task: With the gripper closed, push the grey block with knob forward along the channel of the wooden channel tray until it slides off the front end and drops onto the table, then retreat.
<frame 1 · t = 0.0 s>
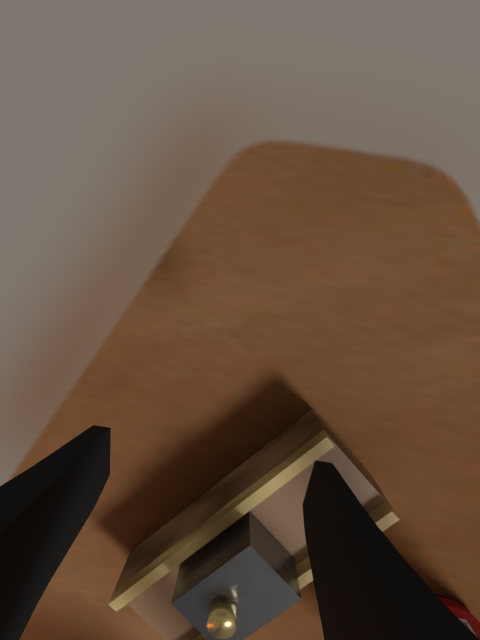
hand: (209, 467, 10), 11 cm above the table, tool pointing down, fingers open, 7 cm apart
wooden channel tray: (248, 515, 22), on the table
canned food: (425, 630, 24), on the table
grey block with knob: (237, 560, 20), point 3 cm above the table, touching wooden channel tray
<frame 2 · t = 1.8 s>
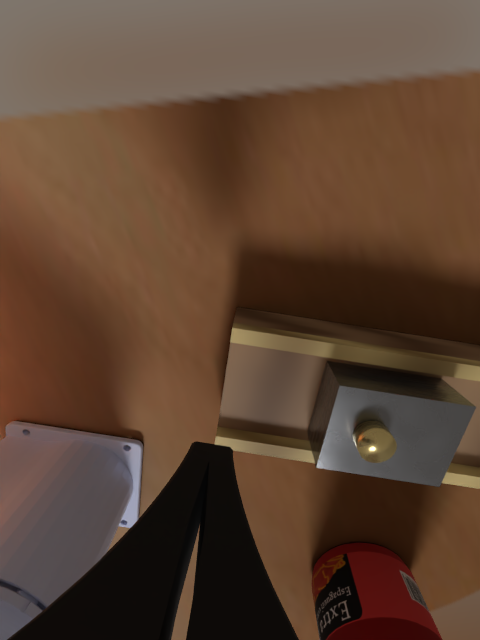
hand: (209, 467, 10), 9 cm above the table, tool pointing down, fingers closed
wooden channel tray: (369, 381, 19), on the table
canned food: (358, 571, 24), on the table
grey block with knob: (371, 406, 16), point 3 cm above the table, touching wooden channel tray
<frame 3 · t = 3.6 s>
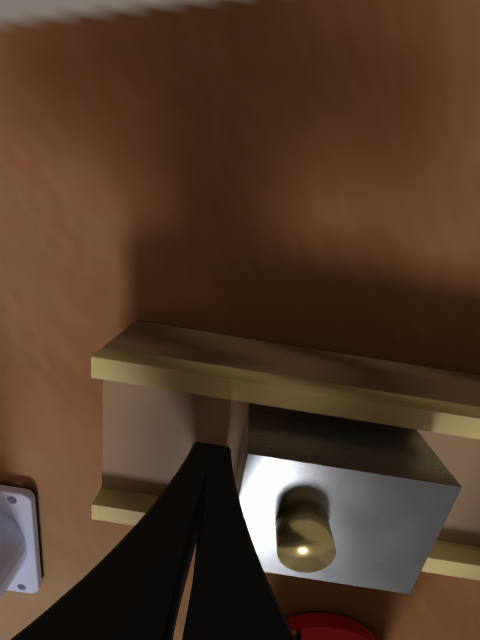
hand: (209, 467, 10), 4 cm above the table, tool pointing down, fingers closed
wooden channel tray: (320, 419, 14), on the table
grey block with knob: (317, 465, 11), point 3 cm above the table, touching gripper, wooden channel tray
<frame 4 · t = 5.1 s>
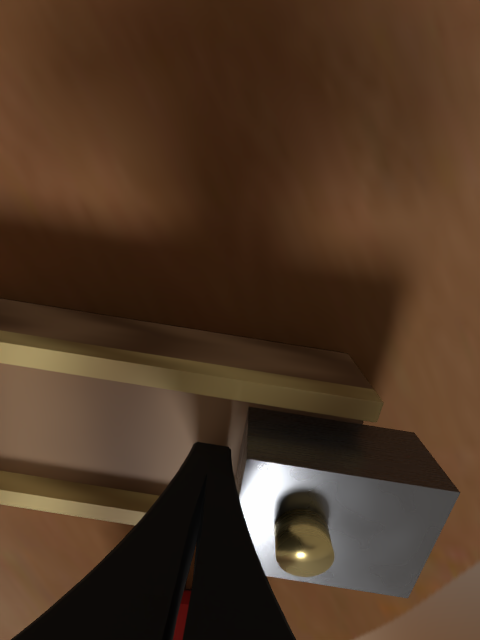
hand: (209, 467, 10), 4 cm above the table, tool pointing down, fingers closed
wooden channel tray: (141, 390, 14), on the table
canned food: (190, 622, 20), on the table
grey block with knob: (317, 469, 11), point 3 cm above the table, touching gripper
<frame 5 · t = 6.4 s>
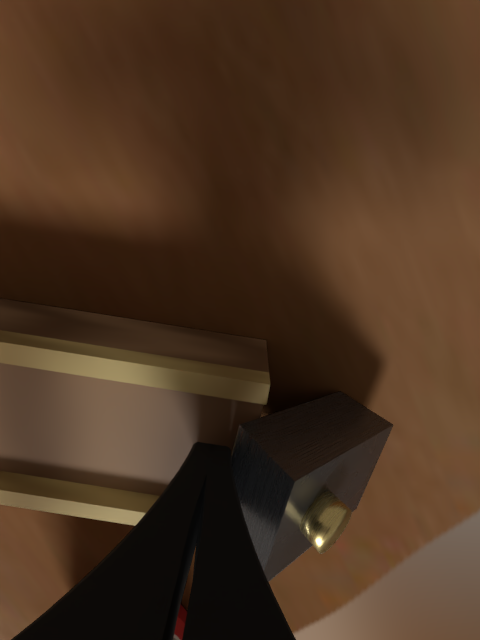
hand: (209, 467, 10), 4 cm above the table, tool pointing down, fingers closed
wooden channel tray: (65, 378, 14), on the table
grey block with knob: (283, 450, 12), point 2 cm above the table, tilted 41°, touching gripper
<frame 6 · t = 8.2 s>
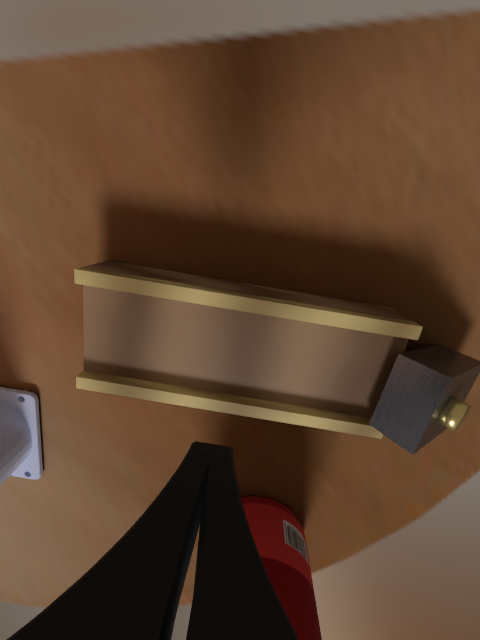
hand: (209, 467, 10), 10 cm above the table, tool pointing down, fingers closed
wooden channel tray: (241, 335, 20), on the table
canned food: (256, 525, 25), on the table
grey block with knob: (406, 381, 18), point 2 cm above the table, tilted 40°, touching wooden channel tray
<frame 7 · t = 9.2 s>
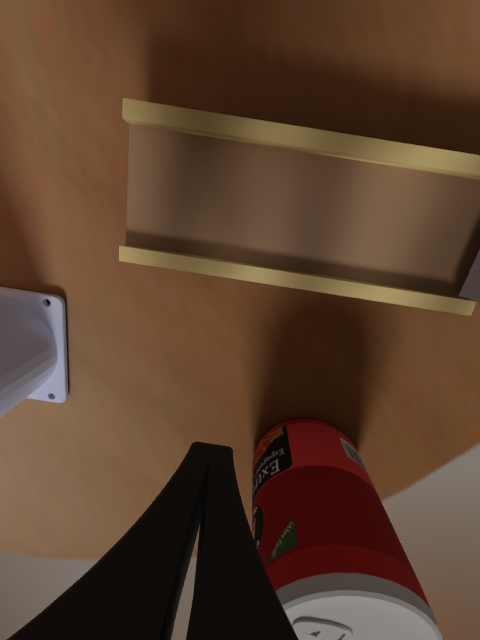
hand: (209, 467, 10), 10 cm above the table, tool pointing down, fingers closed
wooden channel tray: (299, 217, 18), on the table
canned food: (303, 455, 23), on the table
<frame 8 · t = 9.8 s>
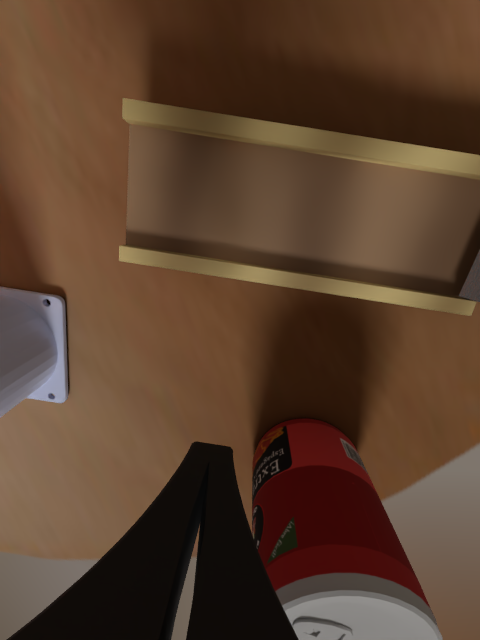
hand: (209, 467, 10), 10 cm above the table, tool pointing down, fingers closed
wooden channel tray: (299, 217, 18), on the table
canned food: (303, 455, 23), on the table
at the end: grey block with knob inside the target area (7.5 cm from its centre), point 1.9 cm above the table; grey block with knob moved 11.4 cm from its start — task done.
